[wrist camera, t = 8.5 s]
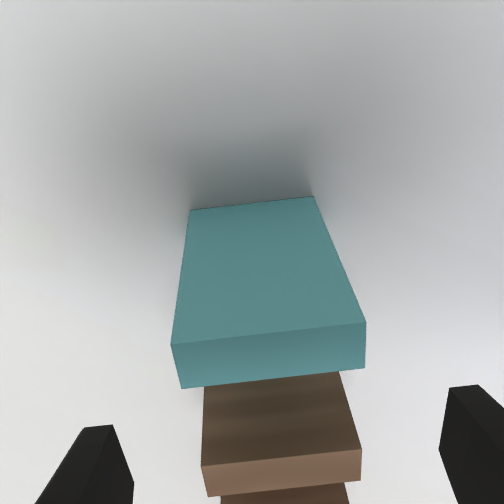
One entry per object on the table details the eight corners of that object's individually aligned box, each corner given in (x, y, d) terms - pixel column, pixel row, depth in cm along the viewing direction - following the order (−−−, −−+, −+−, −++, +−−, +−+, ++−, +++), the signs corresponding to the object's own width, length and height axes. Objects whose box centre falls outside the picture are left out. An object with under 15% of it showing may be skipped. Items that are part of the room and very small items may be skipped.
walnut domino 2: (220, 386, 24) (220, 551, 17) (318, 375, 24) (357, 537, 17) (224, 407, 25) (225, 574, 18) (318, 397, 25) (356, 560, 18)
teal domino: (189, 210, 19) (170, 344, 12) (313, 196, 19) (366, 321, 12) (196, 244, 20) (181, 388, 13) (314, 231, 19) (364, 368, 13)
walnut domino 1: (207, 308, 21) (200, 466, 14) (316, 296, 21) (361, 448, 14) (212, 335, 22) (208, 496, 15) (317, 324, 22) (360, 480, 15)
